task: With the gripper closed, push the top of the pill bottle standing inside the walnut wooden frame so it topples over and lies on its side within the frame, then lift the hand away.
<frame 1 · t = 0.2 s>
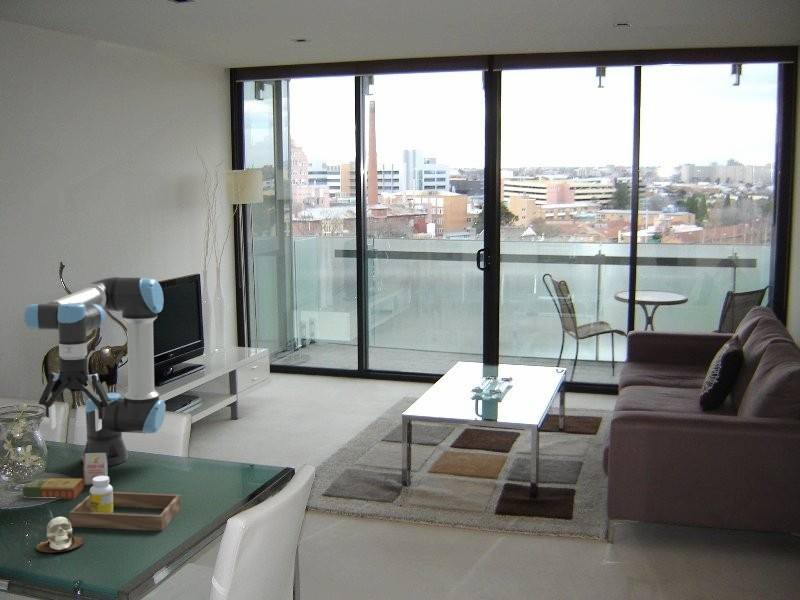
hand: (75, 429, 252), 26 cm above the table, tool pointing down, fingers open, 13 cm apart
pill bottle: (102, 516, 256), resting in walnut frame
walnut frame: (126, 517, 256), on the table
white red printed box: (96, 483, 283), on the table
carton: (53, 495, 273), on the table
skull: (60, 546, 236), on the table
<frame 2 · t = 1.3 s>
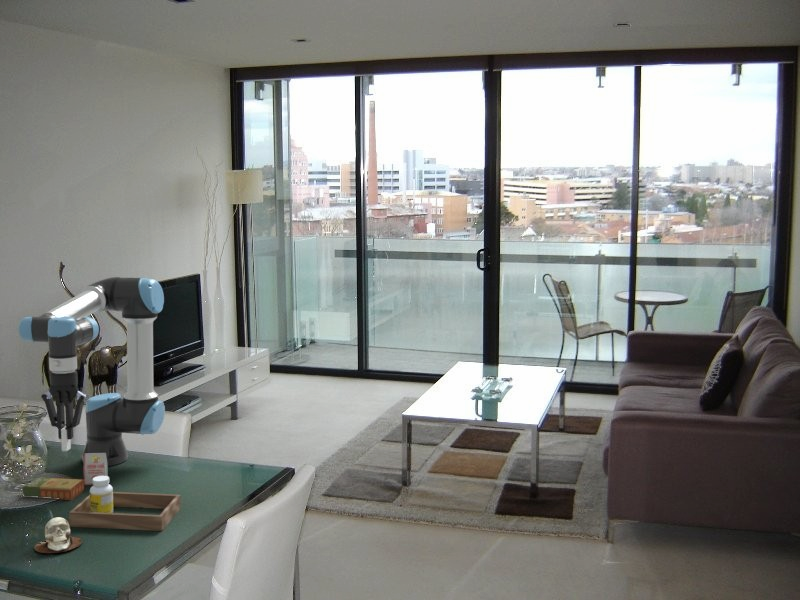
hand: (66, 449, 254), 20 cm above the table, tool pointing down, fingers closed
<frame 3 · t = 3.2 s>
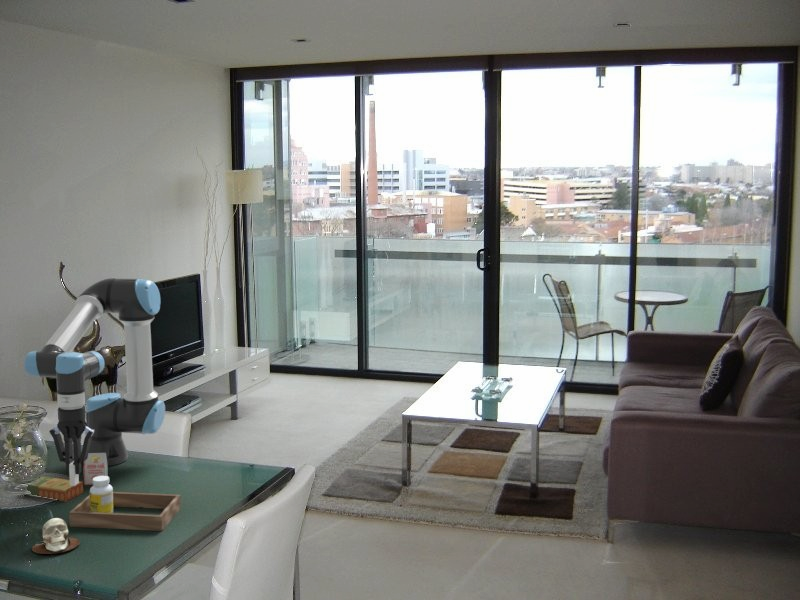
hand: (74, 484, 255), 9 cm above the table, tool pointing down, fingers closed
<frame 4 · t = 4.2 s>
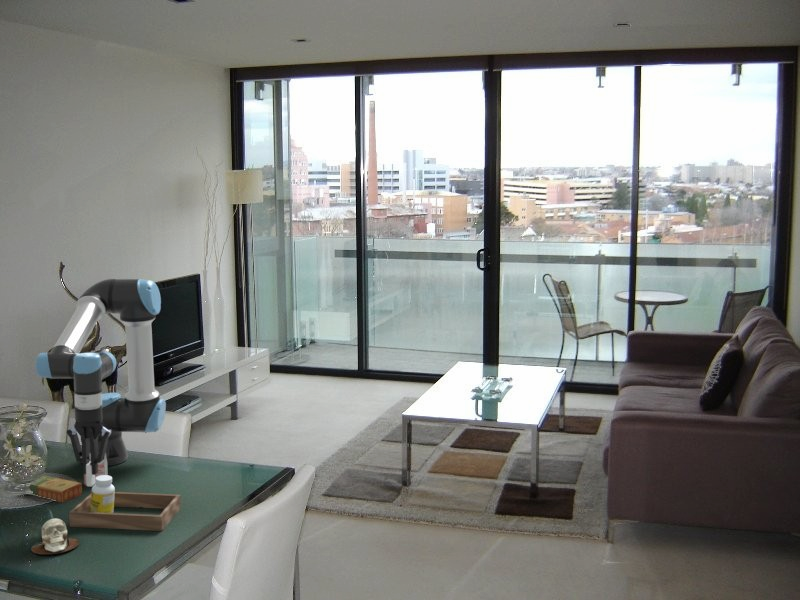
hand: (91, 484, 255), 10 cm above the table, tool pointing down, fingers closed
pill bottle: (102, 515, 256), resting in walnut frame, touching gripper
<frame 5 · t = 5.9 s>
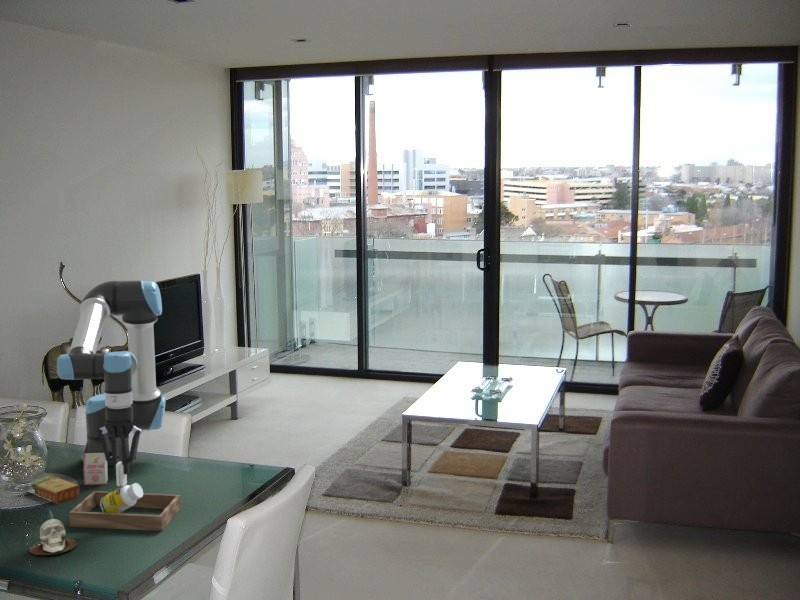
hand: (121, 484, 254), 10 cm above the table, tool pointing down, fingers closed
pill bottle: (106, 507, 256), point 3 cm above the table, touching gripper
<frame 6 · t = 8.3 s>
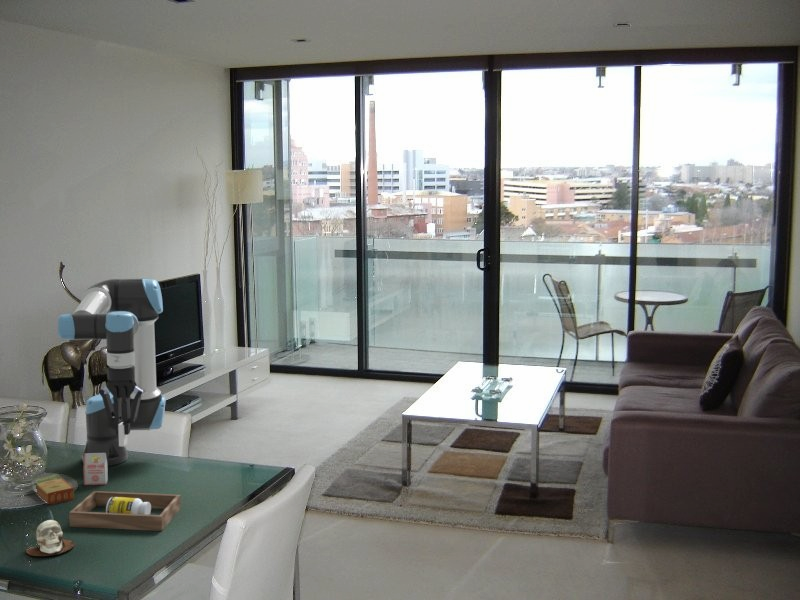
hand: (123, 444, 253), 22 cm above the table, tool pointing down, fingers closed
pill bottle: (109, 507, 254), point 3 cm above the table
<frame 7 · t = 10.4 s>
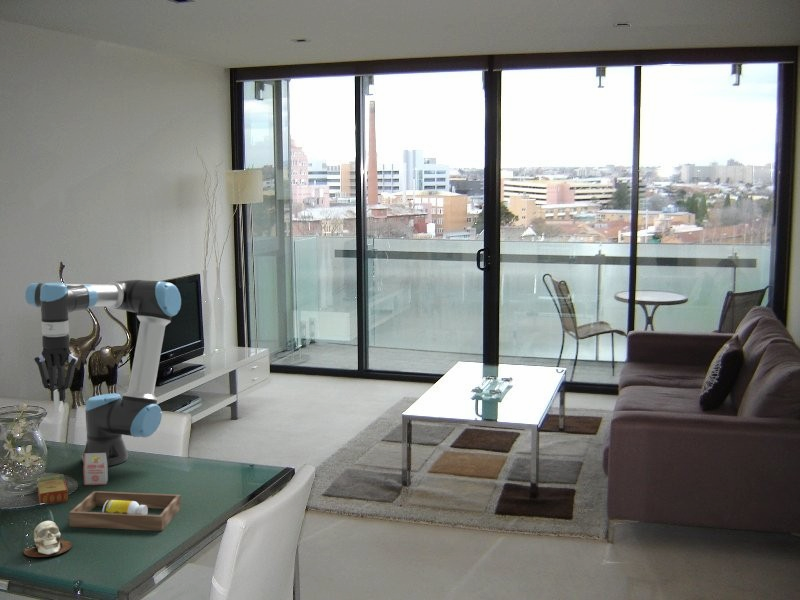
hand: (58, 410, 264), 28 cm above the table, tool pointing down, fingers closed
pill bottle: (105, 511, 252), point 3 cm above the table, touching walnut frame
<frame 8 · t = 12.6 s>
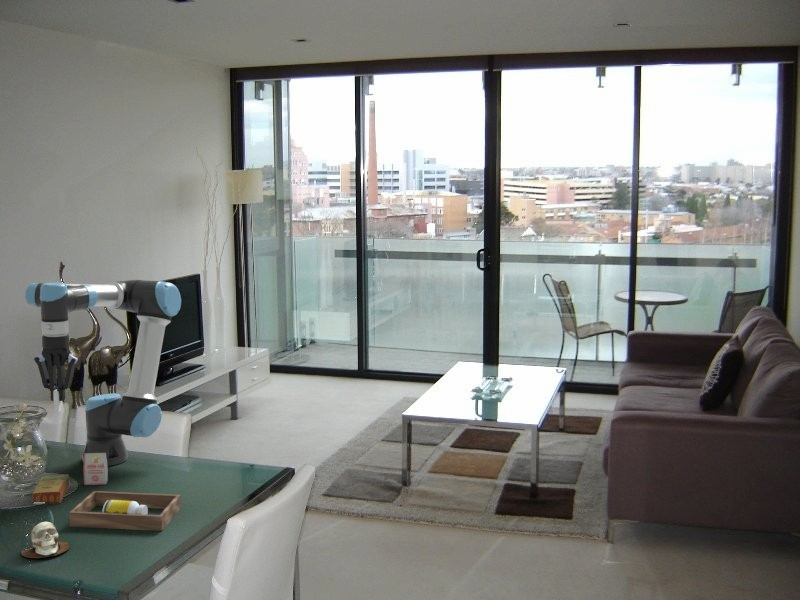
hand: (58, 410, 264), 28 cm above the table, tool pointing down, fingers closed
at the end: pill bottle tilted 89°; pill bottle inside the target area on the walnut frame (6.1 cm from its centre), point 3.2 cm above the walnut frame's base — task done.
